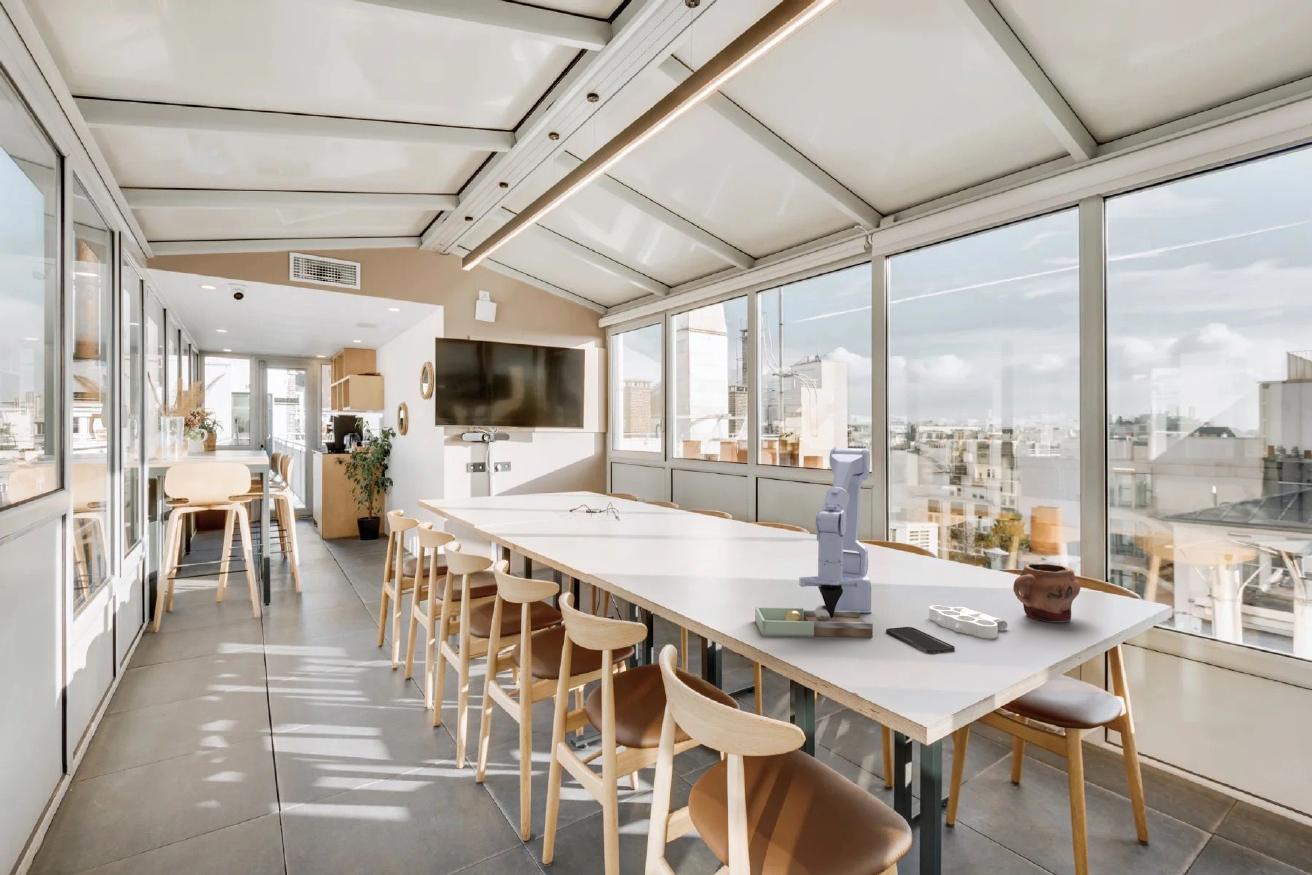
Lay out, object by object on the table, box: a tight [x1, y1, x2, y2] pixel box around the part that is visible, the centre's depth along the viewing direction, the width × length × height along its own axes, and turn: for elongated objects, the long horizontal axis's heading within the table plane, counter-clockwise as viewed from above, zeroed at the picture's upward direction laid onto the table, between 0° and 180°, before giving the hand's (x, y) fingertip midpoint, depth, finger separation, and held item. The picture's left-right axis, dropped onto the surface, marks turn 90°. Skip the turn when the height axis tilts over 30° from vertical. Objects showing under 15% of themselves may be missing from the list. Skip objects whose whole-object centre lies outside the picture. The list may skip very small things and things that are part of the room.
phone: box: [885, 626, 956, 655], centre depth 140 cm, size 8×1×15 cm
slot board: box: [803, 609, 874, 638], centre depth 147 cm, size 14×10×3 cm
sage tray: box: [754, 606, 815, 638], centre depth 147 cm, size 12×12×4 cm
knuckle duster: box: [928, 604, 1008, 640], centre depth 152 cm, size 3×18×15 cm
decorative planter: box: [1012, 563, 1081, 623], centre depth 158 cm, size 20×12×14 cm, turn 112°
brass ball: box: [785, 610, 802, 621], centre depth 147 cm, size 4×4×4 cm
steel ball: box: [814, 604, 830, 621], centre depth 147 cm, size 4×4×4 cm
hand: (829, 616), depth 147 cm, fingers closed, pressing on steel ball
